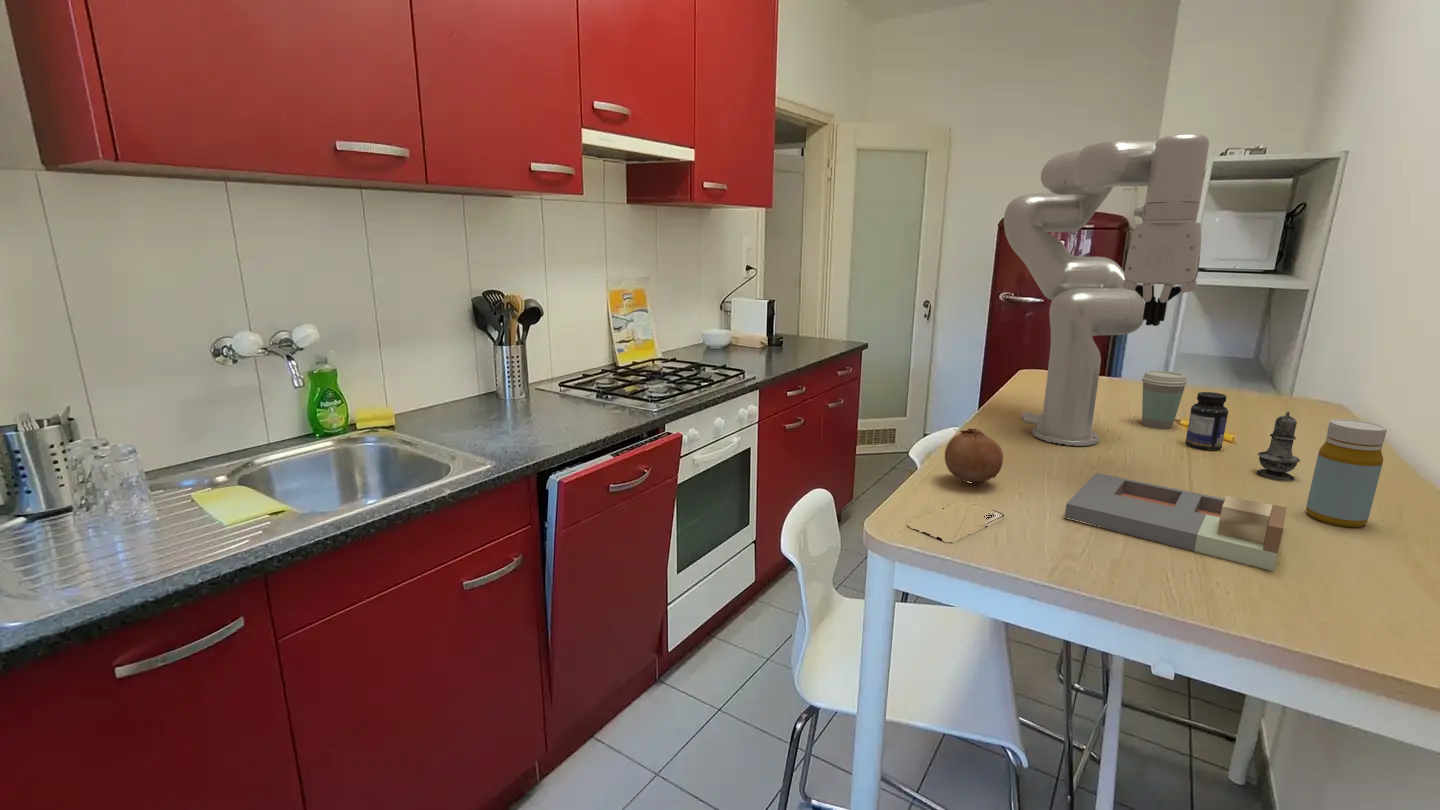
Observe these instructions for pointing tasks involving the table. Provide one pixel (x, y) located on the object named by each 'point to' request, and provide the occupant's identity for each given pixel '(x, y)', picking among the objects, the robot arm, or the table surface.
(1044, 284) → the robot arm
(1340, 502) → the bottle
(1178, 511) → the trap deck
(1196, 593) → the table surface
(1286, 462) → the salt shaker
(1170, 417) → the coffee cup
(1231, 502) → the maple block
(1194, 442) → the pill bottle
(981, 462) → the onion
